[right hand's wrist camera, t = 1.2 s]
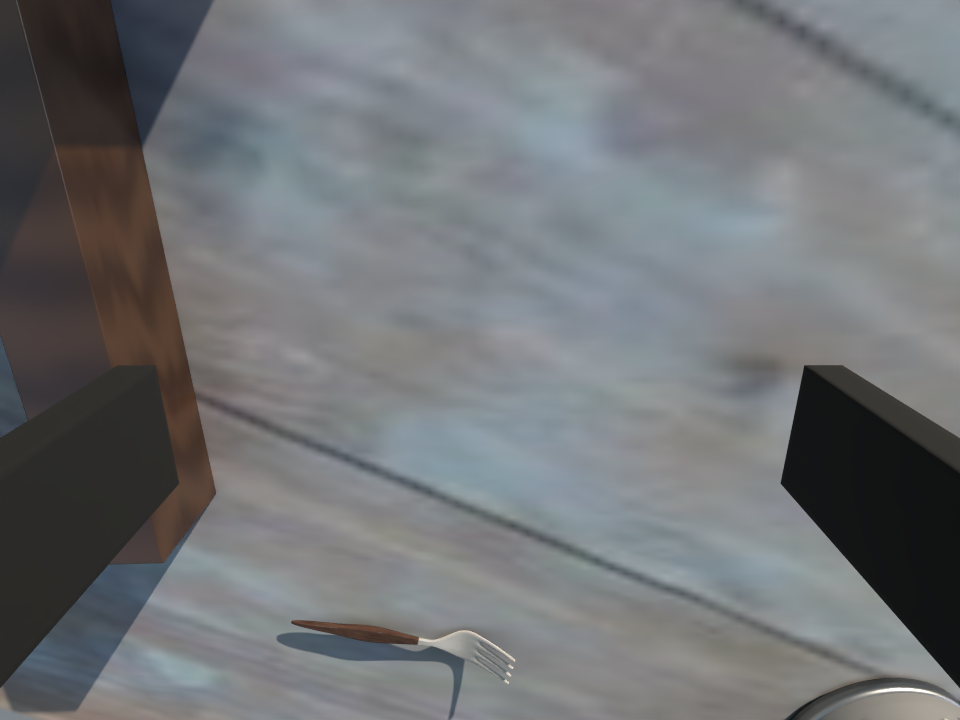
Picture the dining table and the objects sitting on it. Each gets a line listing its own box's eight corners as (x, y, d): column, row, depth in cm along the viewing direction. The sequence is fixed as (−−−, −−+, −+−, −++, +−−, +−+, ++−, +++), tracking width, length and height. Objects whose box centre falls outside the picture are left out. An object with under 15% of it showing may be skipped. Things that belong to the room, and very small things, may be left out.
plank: (216, 493, 40) (163, 563, 33) (141, 495, 40) (74, 566, 33) (103, -33, 29) (-6, -84, 23) (3, -28, 29) (-135, -78, 23)
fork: (295, 602, 42) (286, 623, 40) (514, 636, 43) (516, 659, 41) (292, 630, 43) (283, 652, 41) (507, 663, 44) (508, 686, 42)
